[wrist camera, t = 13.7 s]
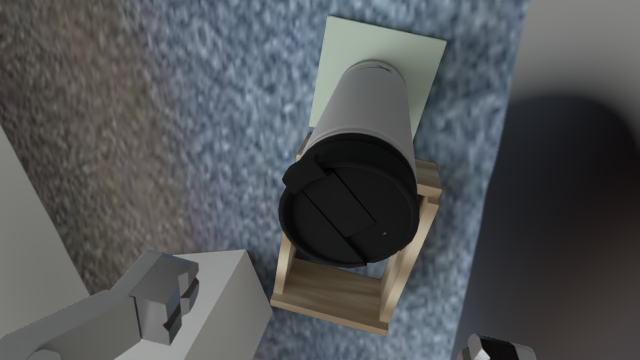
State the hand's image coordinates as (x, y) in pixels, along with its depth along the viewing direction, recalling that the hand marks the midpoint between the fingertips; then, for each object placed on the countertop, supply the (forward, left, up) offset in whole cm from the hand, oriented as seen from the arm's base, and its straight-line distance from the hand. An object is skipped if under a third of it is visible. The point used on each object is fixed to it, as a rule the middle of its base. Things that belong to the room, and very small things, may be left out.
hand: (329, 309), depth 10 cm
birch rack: (+15, +2, -26) cm, 30 cm away
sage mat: (0, 0, -26) cm, 26 cm away
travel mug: (+1, 0, -25) cm, 25 cm away
